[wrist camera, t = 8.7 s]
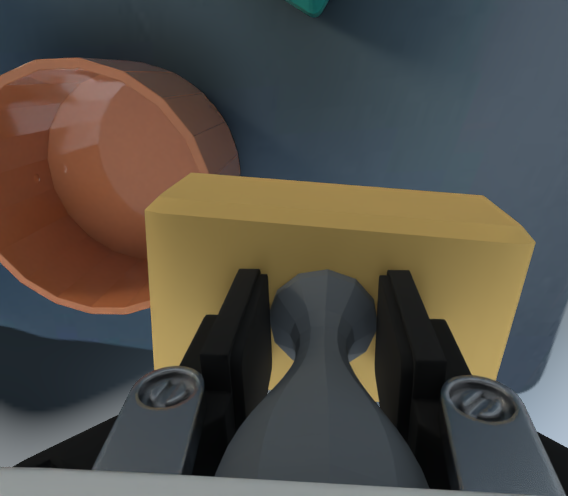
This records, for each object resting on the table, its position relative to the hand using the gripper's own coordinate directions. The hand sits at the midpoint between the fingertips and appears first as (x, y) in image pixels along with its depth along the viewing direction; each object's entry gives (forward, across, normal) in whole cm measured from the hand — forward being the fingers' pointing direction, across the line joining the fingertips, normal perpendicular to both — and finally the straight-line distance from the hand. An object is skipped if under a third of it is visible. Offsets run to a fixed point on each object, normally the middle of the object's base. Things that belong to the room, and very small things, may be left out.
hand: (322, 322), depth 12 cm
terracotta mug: (+21, +15, 0) cm, 26 cm away
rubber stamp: (+4, 0, 0) cm, 4 cm away
